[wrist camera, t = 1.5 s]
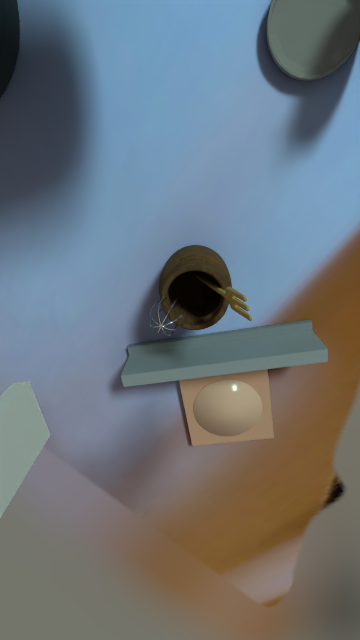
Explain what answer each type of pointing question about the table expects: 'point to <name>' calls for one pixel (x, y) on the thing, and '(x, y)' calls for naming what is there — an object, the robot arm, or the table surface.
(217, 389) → the coaster
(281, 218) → the table surface
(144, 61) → the table surface
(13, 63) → the robot arm
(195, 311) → the utensil holder
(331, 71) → the pocket watch
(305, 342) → the low wall
